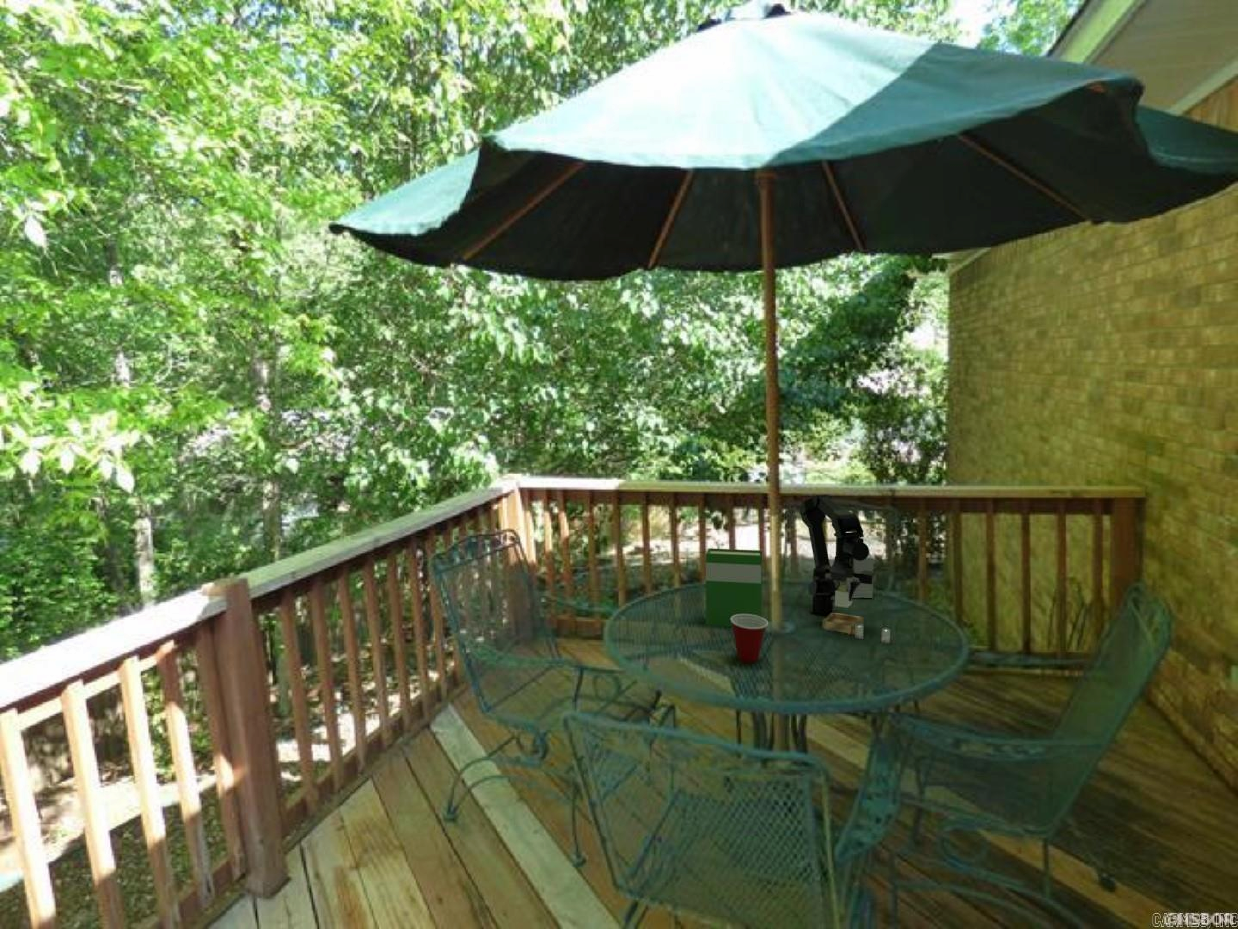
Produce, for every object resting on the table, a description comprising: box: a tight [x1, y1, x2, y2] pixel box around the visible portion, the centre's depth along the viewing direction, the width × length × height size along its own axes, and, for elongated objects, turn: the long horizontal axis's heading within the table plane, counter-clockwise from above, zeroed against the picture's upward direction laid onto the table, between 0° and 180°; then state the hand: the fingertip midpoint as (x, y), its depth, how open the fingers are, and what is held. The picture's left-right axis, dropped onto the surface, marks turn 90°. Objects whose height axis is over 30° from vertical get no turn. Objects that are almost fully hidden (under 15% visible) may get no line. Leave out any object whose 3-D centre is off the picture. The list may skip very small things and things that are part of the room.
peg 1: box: [854, 624, 864, 640], centre depth 236 cm, size 2×2×4 cm
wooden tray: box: [821, 612, 864, 636], centre depth 246 cm, size 10×11×2 cm
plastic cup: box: [730, 614, 769, 664], centre depth 219 cm, size 11×11×12 cm
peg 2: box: [880, 627, 891, 645], centre depth 232 cm, size 2×2×4 cm
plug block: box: [834, 584, 853, 609], centre depth 245 cm, size 4×5×6 cm
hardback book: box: [705, 547, 763, 628], centre depth 250 cm, size 18×7×24 cm, turn 78°
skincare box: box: [846, 552, 874, 599], centre depth 276 cm, size 8×7×16 cm
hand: (843, 600), depth 245 cm, fingers closed on plug block, 4 cm apart
